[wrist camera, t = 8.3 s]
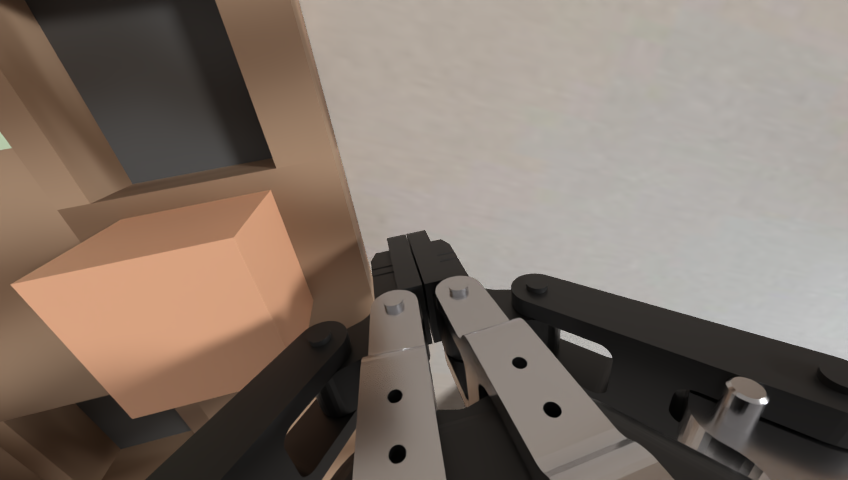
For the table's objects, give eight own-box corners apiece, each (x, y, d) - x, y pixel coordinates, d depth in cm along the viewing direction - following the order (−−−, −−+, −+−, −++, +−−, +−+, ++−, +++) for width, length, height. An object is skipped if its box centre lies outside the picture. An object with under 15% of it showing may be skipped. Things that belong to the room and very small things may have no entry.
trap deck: (411, 422, 22) (425, 506, 18) (134, 500, 20) (74, 615, 16) (254, -165, 9) (168, -378, 5) (-527, -99, 8) (-1734, -346, 3)
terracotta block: (313, 300, 14) (299, 375, 10) (191, 329, 13) (132, 419, 10) (270, 189, 11) (233, 237, 8) (120, 219, 11) (10, 284, 7)
